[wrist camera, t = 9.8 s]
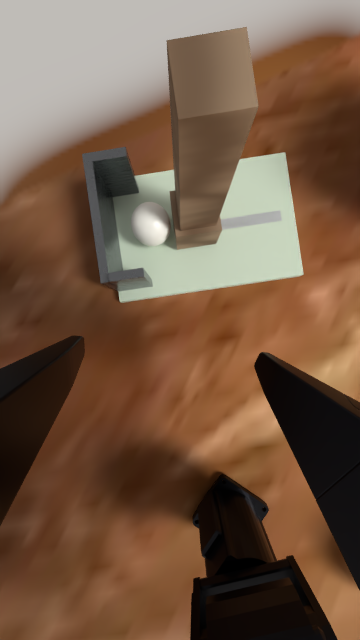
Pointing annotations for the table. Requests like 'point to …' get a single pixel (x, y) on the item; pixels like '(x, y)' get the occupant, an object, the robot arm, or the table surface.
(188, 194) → the block
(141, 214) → the ball
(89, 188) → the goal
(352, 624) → the table surface
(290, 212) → the pitch
